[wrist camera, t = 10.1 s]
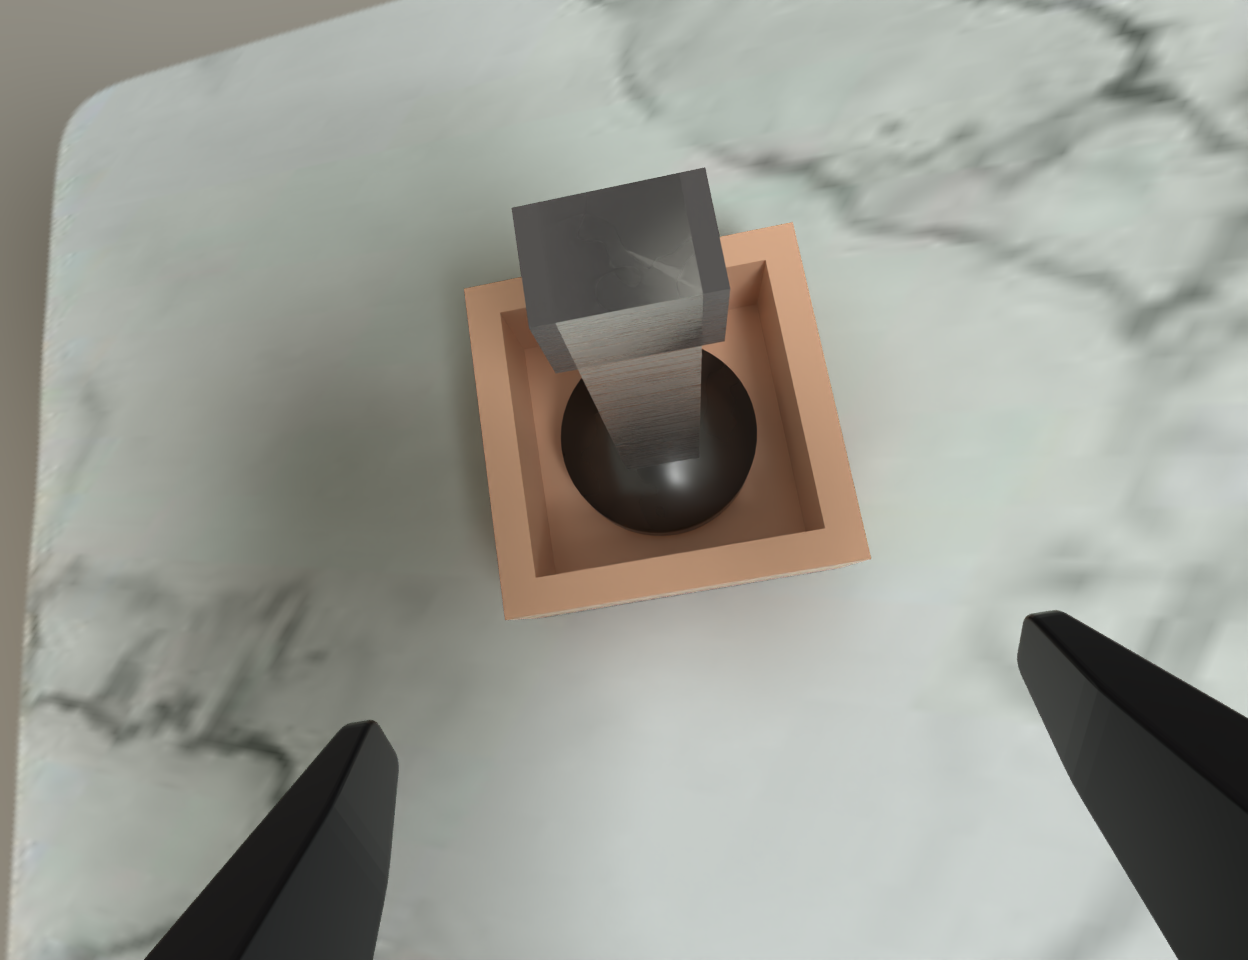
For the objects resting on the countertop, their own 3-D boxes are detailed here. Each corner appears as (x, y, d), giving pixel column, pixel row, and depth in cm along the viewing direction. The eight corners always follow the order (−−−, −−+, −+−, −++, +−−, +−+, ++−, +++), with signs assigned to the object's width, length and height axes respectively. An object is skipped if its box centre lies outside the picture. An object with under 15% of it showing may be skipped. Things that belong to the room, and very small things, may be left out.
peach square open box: (840, 567, 22) (871, 558, 18) (537, 618, 23) (505, 620, 19) (776, 284, 24) (792, 222, 20) (500, 339, 25) (464, 288, 21)
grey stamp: (770, 518, 22) (866, 400, 9) (583, 550, 22) (445, 477, 10) (733, 341, 23) (777, 34, 11) (557, 375, 23) (405, 116, 11)
